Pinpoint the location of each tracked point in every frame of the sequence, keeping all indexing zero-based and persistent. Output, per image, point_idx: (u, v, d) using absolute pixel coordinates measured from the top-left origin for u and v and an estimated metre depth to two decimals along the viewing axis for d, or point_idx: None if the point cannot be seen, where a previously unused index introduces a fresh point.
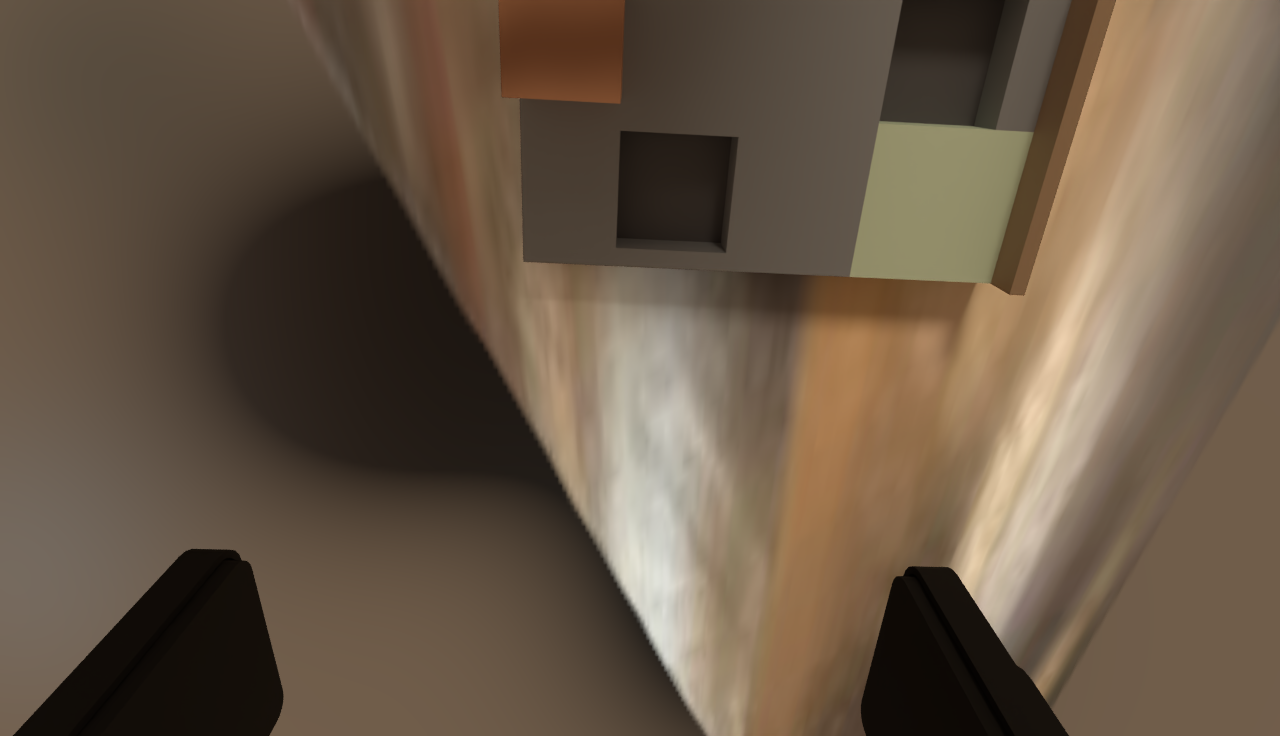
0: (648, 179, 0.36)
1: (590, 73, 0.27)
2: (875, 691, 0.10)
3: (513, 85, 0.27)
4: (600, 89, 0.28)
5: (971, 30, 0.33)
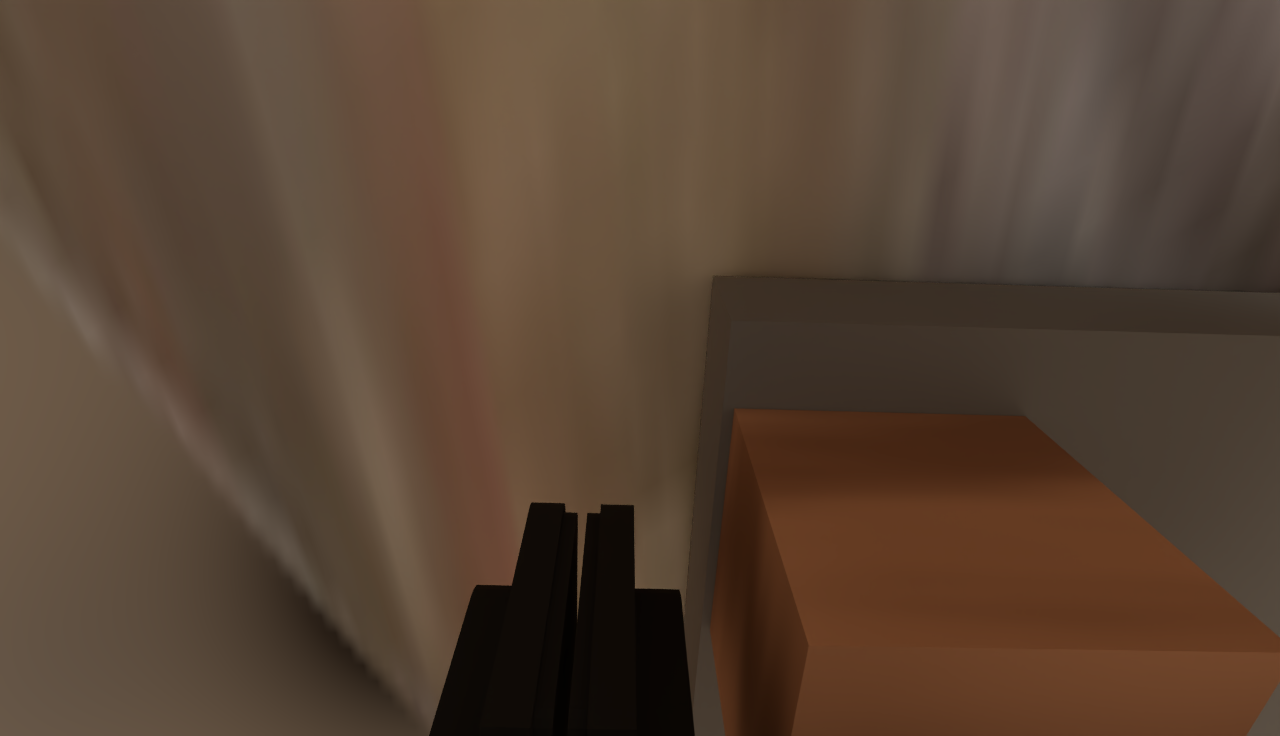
0: None
1: None
2: None
3: None
4: None
5: None
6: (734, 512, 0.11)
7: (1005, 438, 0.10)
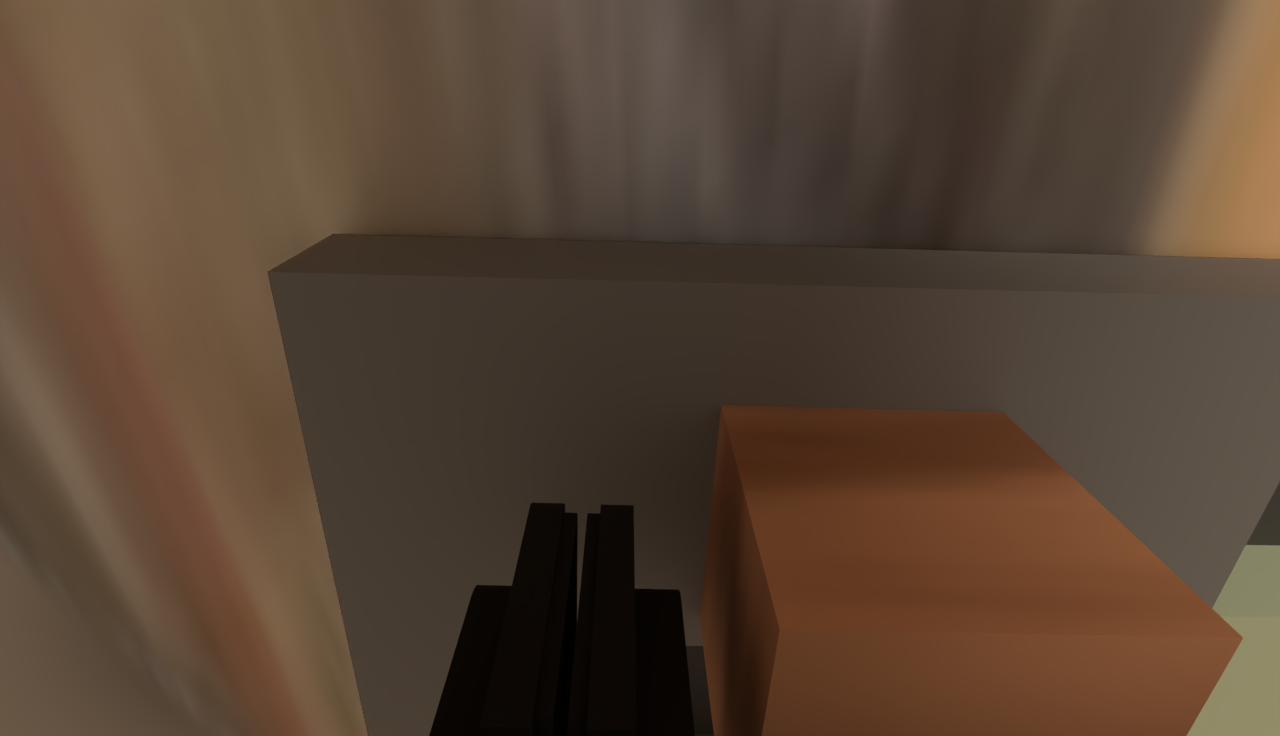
0: None
1: None
2: None
3: None
4: None
5: None
6: (720, 504, 0.11)
7: (982, 433, 0.11)
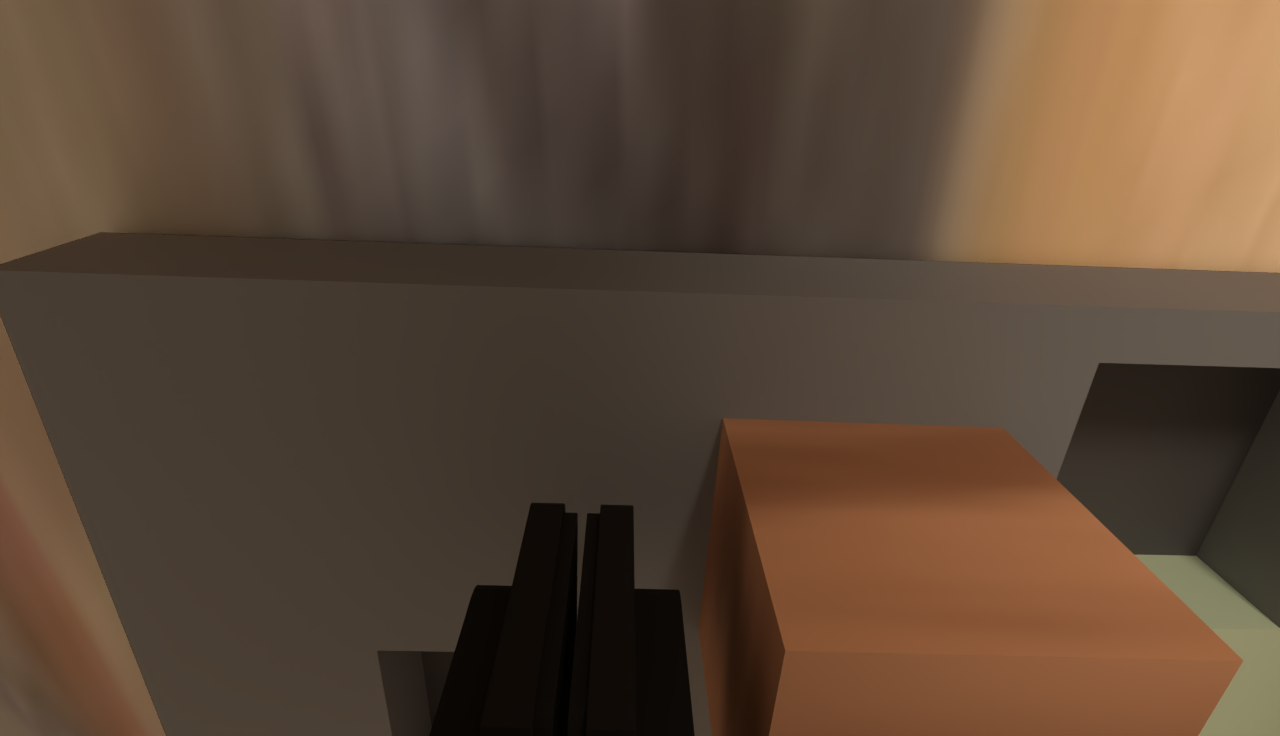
0: None
1: None
2: None
3: None
4: None
5: (1218, 387, 0.14)
6: (721, 518, 0.11)
7: (982, 449, 0.11)
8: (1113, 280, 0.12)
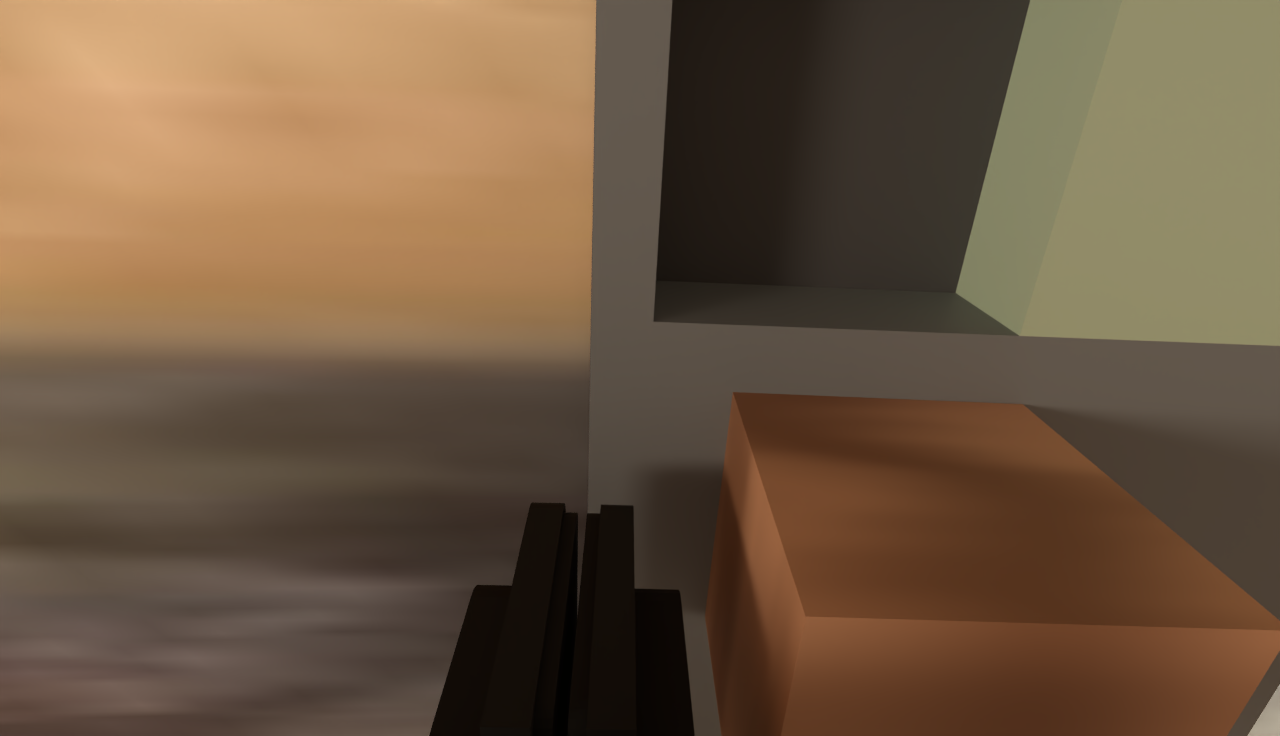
0: None
1: (1139, 715, 0.07)
2: None
3: None
4: (1211, 688, 0.07)
5: (753, 10, 0.11)
6: None
7: (734, 454, 0.11)
8: None
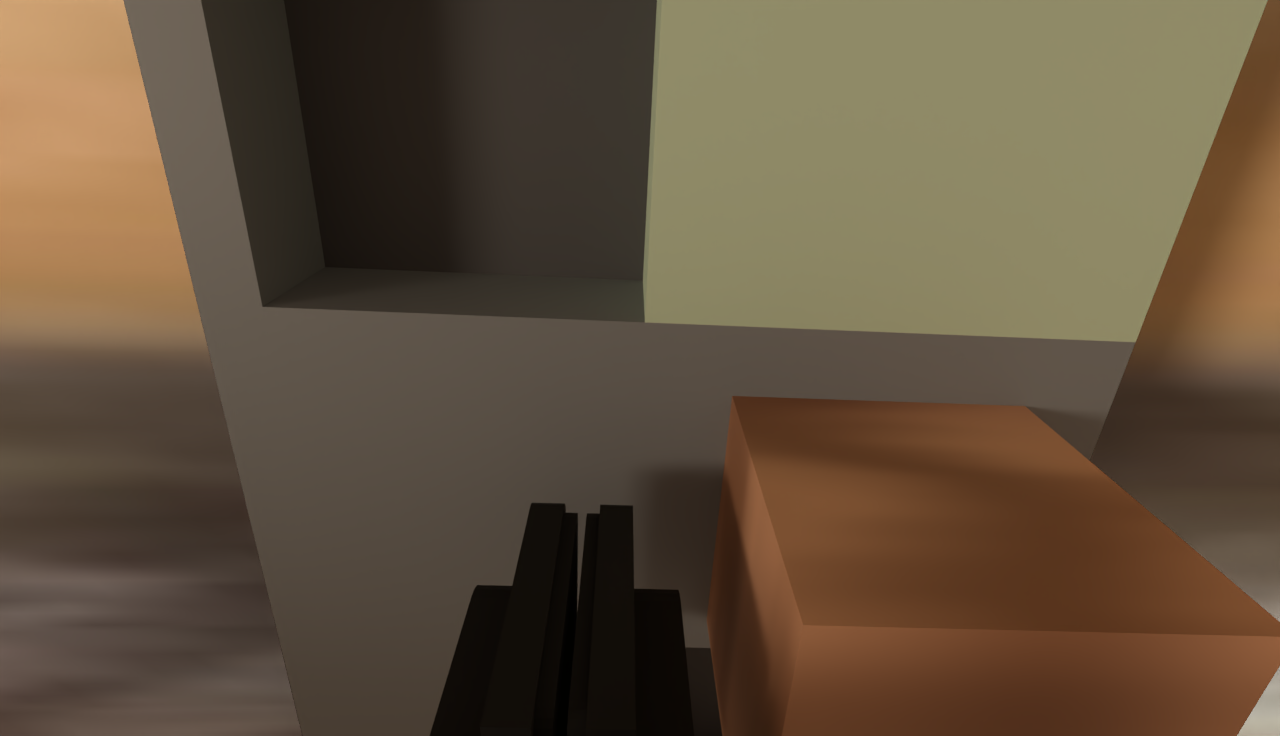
0: None
1: (1143, 723, 0.07)
2: None
3: None
4: (1215, 695, 0.07)
5: None
6: None
7: (734, 459, 0.11)
8: None
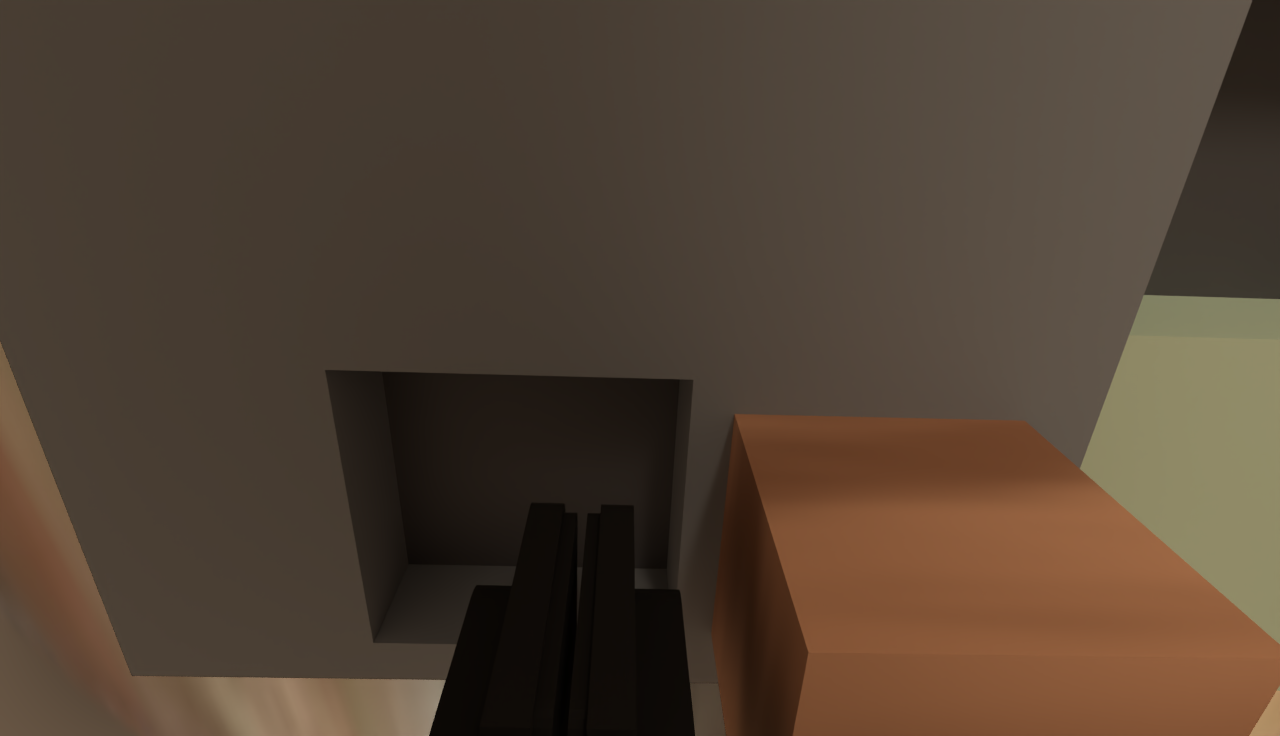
0: (469, 441, 0.14)
1: None
2: None
3: None
4: None
5: None
6: (734, 517, 0.11)
7: (1004, 442, 0.10)
8: None
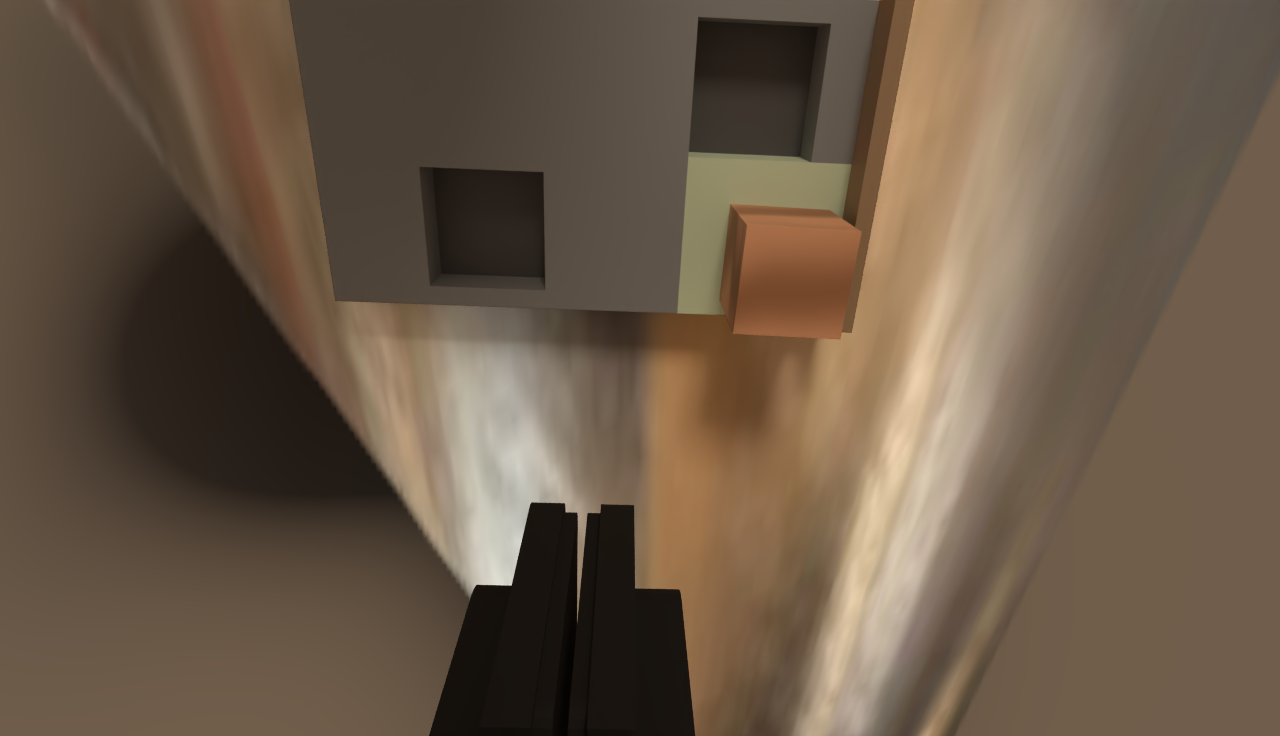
0: (467, 214, 0.35)
1: (816, 315, 0.30)
2: None
3: (745, 324, 0.30)
4: (824, 328, 0.30)
5: (785, 59, 0.32)
6: (729, 236, 0.32)
7: (818, 211, 0.32)
8: None
